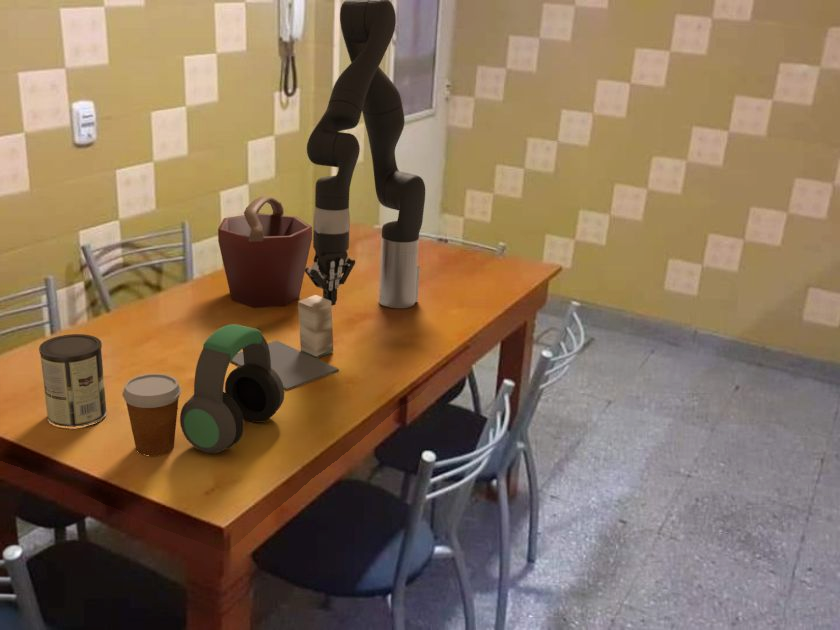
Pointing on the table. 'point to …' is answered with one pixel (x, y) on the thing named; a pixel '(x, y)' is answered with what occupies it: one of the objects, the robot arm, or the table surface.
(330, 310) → the cream block
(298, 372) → the mat
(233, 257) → the bucket
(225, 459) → the table surface
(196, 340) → the table surface
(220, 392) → the headphones
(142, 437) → the disposable coffee cup
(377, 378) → the table surface
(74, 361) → the coffee can
